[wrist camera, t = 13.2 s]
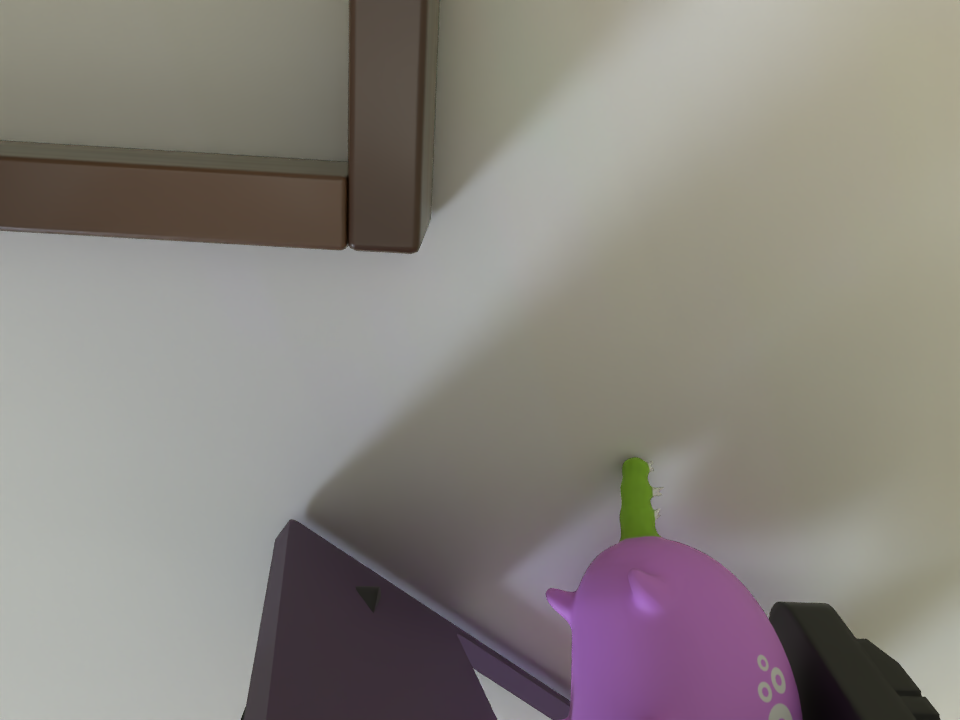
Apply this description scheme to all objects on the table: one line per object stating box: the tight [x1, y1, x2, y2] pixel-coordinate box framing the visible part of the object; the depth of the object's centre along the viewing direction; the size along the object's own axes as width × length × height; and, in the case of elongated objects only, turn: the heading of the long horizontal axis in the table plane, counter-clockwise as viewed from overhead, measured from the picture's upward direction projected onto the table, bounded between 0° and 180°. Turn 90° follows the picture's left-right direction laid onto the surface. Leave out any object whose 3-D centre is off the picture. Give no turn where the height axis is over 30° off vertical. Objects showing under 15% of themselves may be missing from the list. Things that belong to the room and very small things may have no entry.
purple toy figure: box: [244, 457, 803, 720], centre depth 10 cm, size 7×5×9 cm
